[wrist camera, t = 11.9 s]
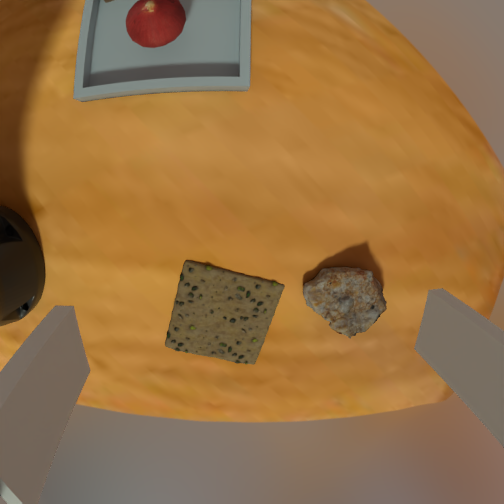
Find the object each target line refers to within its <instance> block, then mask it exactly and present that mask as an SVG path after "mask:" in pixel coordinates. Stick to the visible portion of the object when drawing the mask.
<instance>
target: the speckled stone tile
mask: <svg viewBox="0 0 504 504" xmlns="http://www.w3.org/2000/svg"><path fill="white" fill-rule="evenodd" d="M283 289H284V285H283V284H279V283H277V282H275V281H268V280H265V279H261V278H257V277H251V276H247V275H244V274H240V273H235V272H232V271H229V270H225V269H220V268H215V267H212V266H210V265H204V264H201V263H197V262H194V261H189V260H186V261H185V263H184V265H183V270H182V273H181V276H180V282H179V284H178V291H177V295H176V298H175V302H174V308H173V311H172V317H171V321H170V324H169V330H168V332H167V338H166V341H165V346H166V347H168V348H172V349H174V350H176V351H183V352H186V353H192V354H196V355H202V356H208V357H215V358H219V359H224V360H227V361H232V362H235V363H245V364H255V362H256V360H257V358H258V355H259V352H260V350H261V347H262V345H263V343H264V340H265V336H266V334H267V332H268V328H269V326H270V324H271V321H272V318H273V316H274V313H275V309H276V307H277V304H278V303H279V299H280V297H281V294H282V291H283Z"/></svg>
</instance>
